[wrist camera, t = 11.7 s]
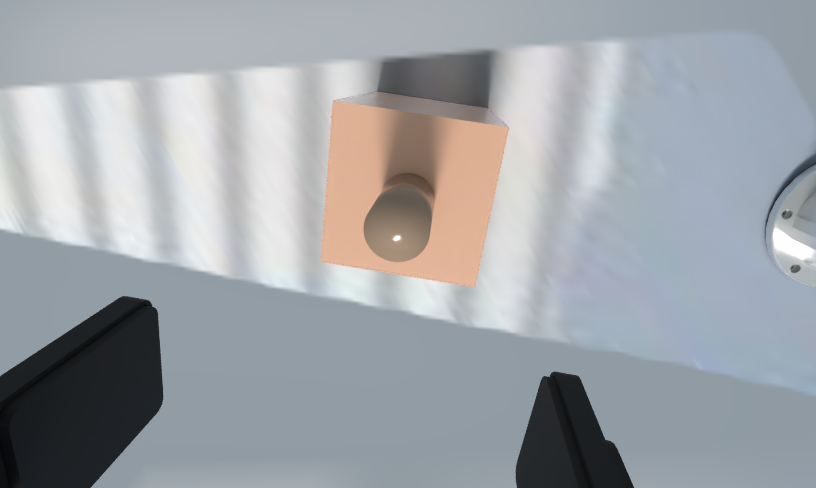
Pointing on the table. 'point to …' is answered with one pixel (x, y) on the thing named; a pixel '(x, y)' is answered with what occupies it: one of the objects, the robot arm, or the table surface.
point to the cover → (411, 185)
